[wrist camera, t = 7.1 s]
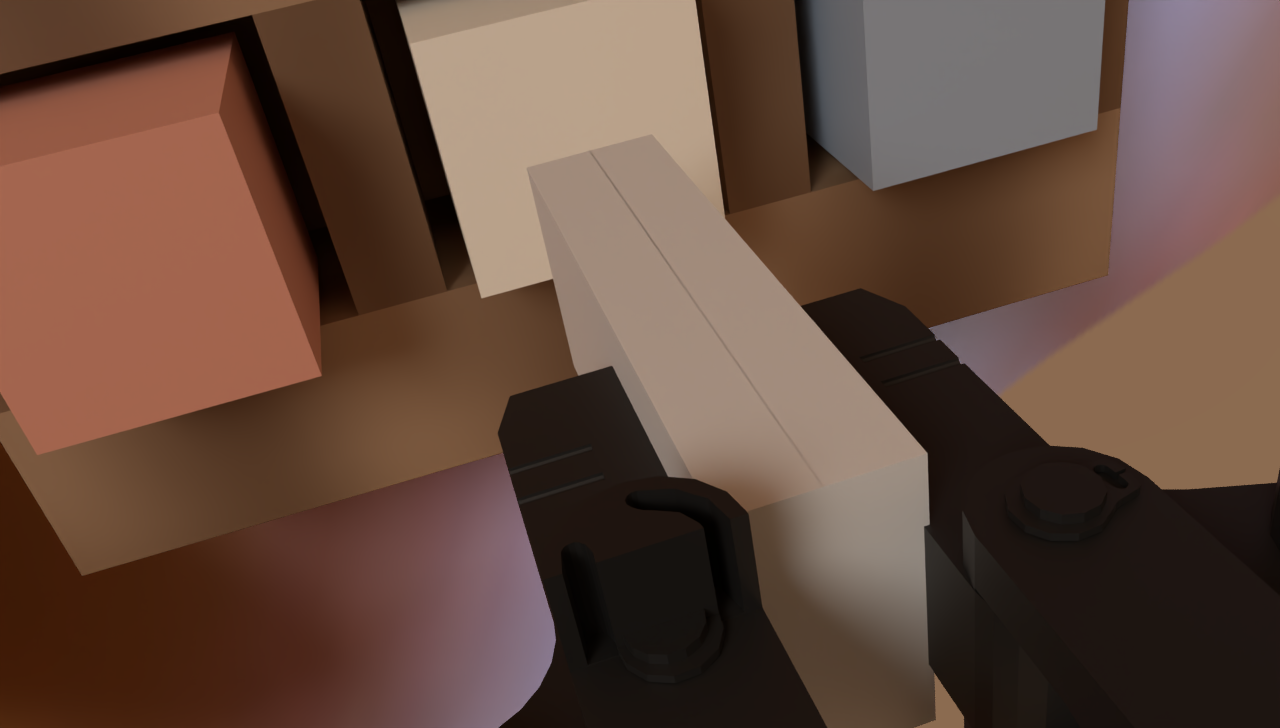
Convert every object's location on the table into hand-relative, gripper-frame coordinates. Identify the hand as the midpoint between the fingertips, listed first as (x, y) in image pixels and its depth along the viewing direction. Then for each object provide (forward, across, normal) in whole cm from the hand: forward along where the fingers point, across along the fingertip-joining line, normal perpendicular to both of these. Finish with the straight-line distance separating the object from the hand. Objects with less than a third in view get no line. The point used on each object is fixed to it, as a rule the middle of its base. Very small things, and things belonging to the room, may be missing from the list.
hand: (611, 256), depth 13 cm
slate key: (+7, +7, 0) cm, 10 cm away
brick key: (+7, -6, 0) cm, 9 cm away
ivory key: (+8, +1, 0) cm, 8 cm away
